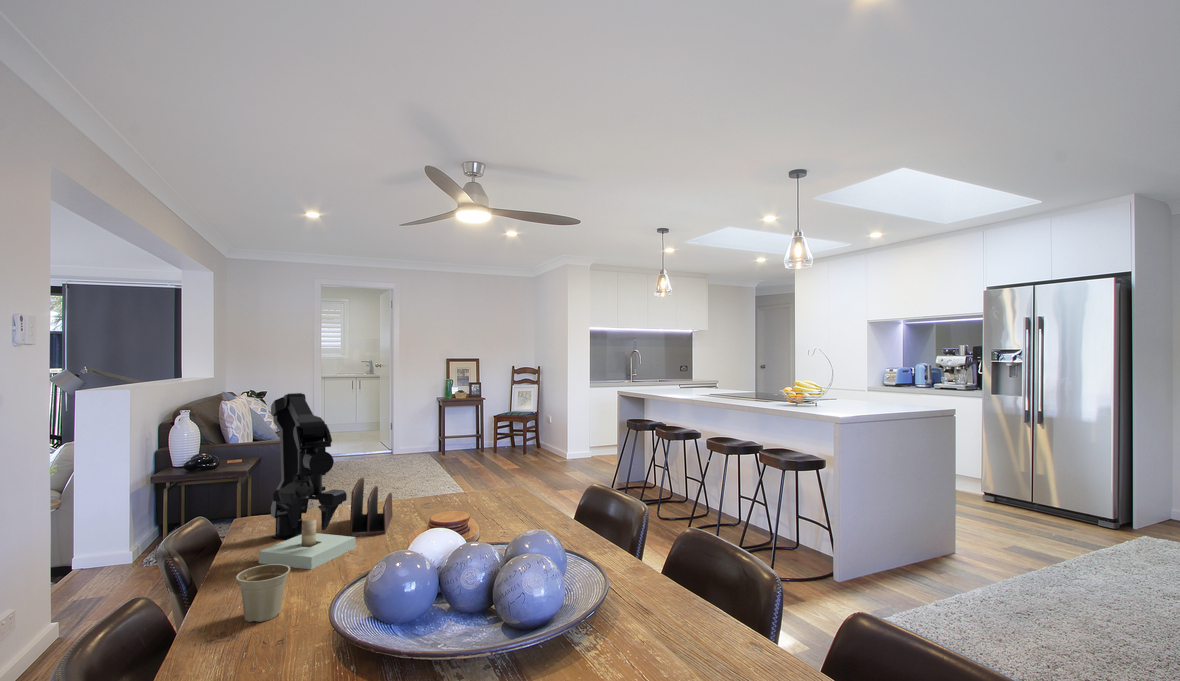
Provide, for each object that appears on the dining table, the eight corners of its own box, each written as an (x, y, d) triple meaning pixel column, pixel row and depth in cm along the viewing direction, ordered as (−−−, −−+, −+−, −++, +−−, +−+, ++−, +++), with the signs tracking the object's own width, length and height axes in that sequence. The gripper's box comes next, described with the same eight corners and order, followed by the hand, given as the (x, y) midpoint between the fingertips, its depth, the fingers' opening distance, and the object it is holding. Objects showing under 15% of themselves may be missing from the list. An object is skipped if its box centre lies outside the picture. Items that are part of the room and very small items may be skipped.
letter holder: (349, 537, 162) (349, 488, 163) (360, 518, 182) (360, 474, 182) (385, 534, 165) (386, 486, 165) (392, 516, 184) (393, 473, 184)
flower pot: (300, 609, 115) (301, 566, 116) (259, 630, 106) (260, 584, 107) (265, 602, 118) (266, 561, 119) (223, 622, 110) (224, 578, 110)
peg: (298, 557, 146) (298, 522, 146) (308, 552, 149) (308, 518, 149) (309, 558, 145) (309, 523, 145) (319, 553, 148) (319, 519, 148)
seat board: (258, 563, 141) (258, 551, 141) (306, 543, 157) (306, 532, 157) (311, 569, 137) (311, 557, 137) (355, 548, 152) (355, 537, 153)
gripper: (255, 472, 142) (254, 535, 142) (317, 476, 137) (316, 541, 137) (290, 464, 153) (289, 522, 152) (348, 468, 148) (347, 528, 147)
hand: (309, 528), depth 147 cm, fingers open, 9 cm apart
